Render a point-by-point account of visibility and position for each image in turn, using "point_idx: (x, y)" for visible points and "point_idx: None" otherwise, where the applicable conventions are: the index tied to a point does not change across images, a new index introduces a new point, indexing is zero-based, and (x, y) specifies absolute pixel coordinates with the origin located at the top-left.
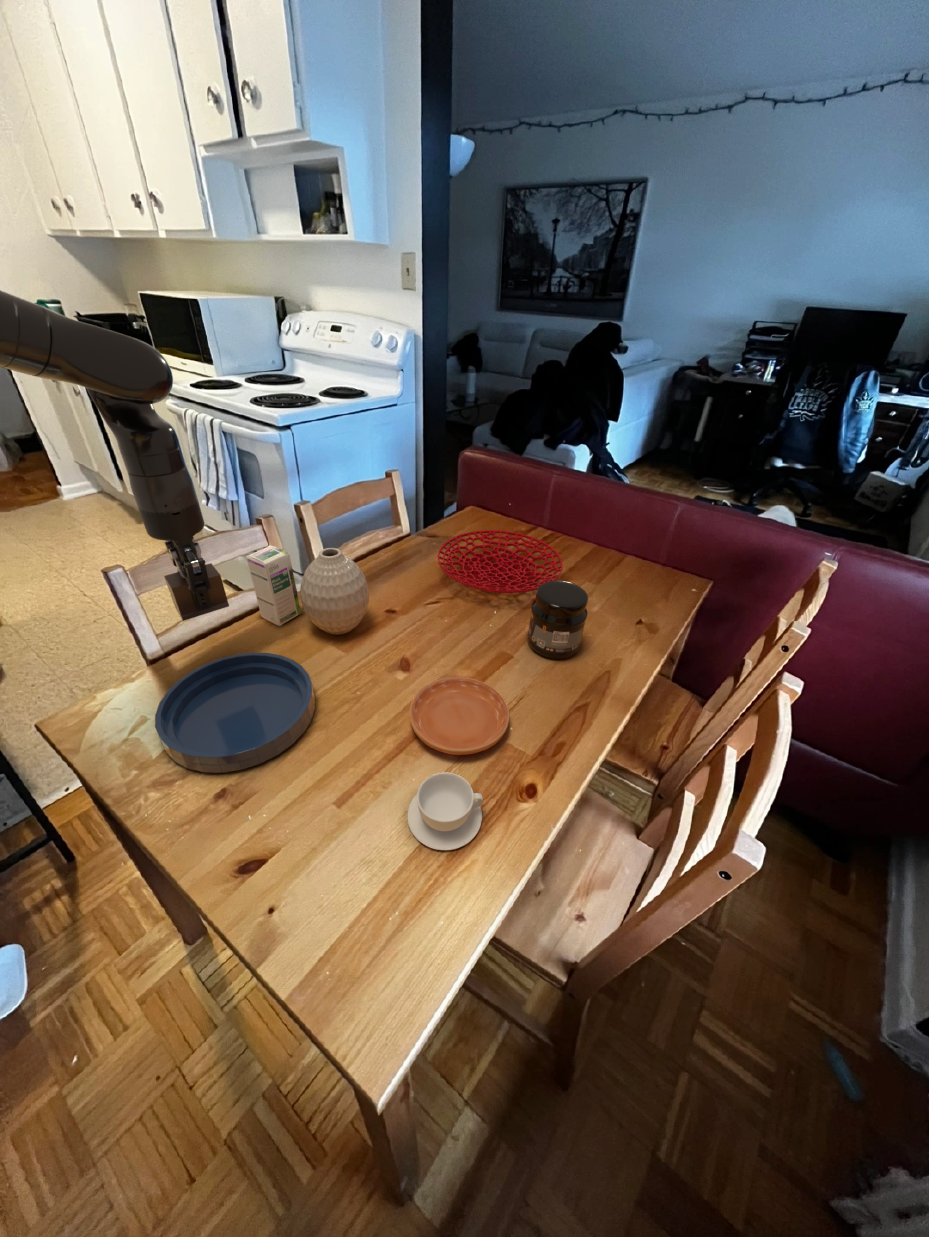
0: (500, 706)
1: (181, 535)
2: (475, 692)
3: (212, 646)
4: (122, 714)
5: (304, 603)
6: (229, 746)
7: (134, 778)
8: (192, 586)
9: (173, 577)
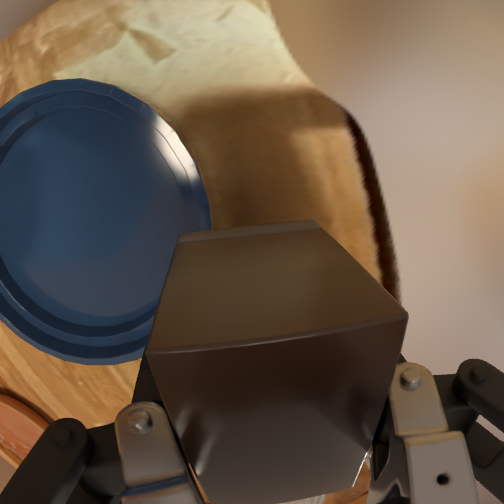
0: (27, 453)
1: None
2: None
3: (332, 216)
4: (200, 20)
5: None
6: (16, 194)
7: (33, 51)
8: (23, 467)
9: (334, 375)
